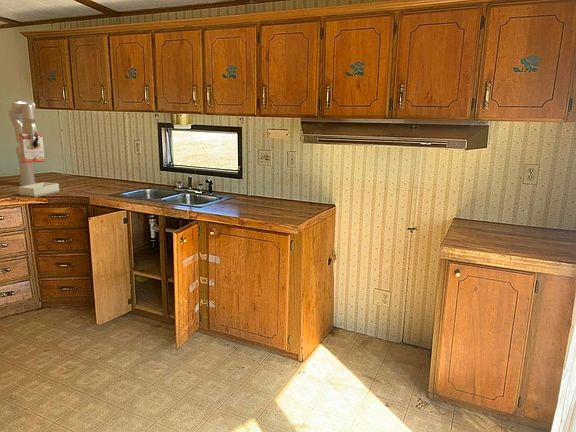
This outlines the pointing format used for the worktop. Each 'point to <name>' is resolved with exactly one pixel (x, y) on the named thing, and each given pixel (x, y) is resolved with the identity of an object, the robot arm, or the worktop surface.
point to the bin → (38, 189)
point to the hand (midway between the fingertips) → (31, 146)
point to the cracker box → (31, 149)
